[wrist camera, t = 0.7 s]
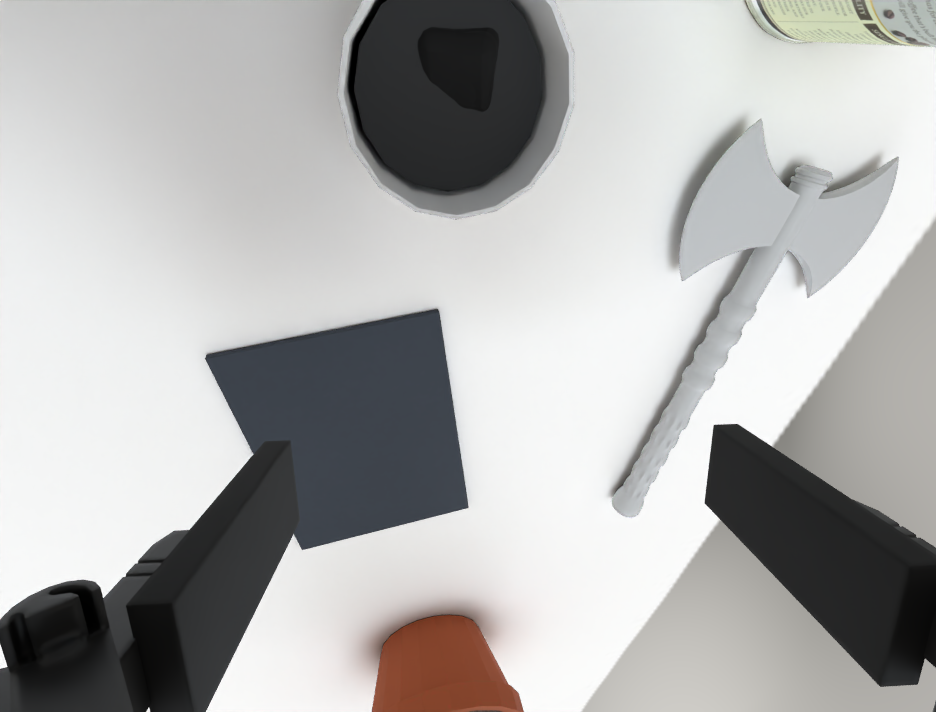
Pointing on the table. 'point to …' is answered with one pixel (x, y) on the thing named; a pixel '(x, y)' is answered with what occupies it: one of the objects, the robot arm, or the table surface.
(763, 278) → the axe
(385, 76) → the white coffee cup
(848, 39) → the coffee can
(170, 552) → the robot arm
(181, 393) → the table surface
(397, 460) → the felt pad
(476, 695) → the potted plant
